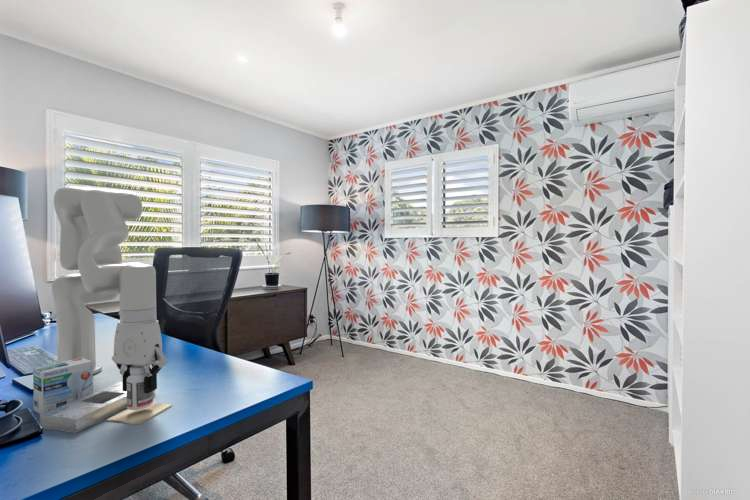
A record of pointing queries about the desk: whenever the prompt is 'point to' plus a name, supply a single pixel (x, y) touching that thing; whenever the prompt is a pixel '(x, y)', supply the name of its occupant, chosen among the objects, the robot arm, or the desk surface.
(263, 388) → the desk surface
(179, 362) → the desk surface
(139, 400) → the pill bottle
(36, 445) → the desk surface
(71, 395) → the light bulb box
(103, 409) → the white slotted slab
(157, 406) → the wooden pad
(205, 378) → the desk surface
